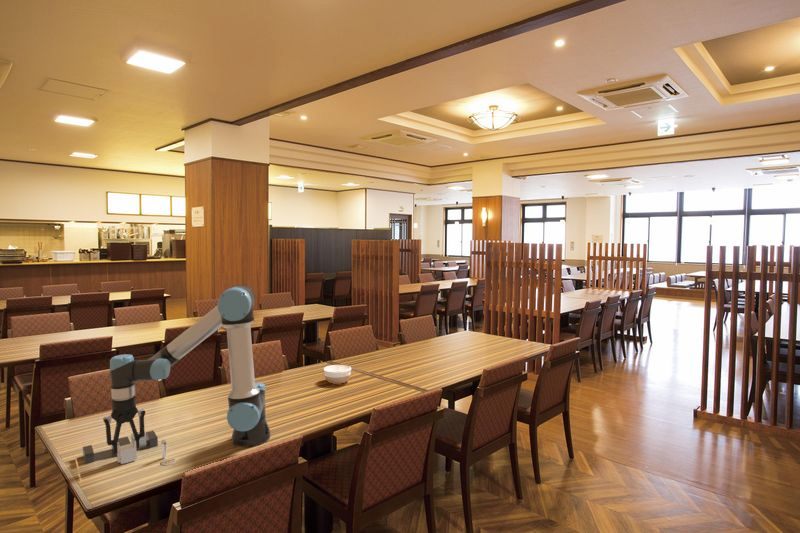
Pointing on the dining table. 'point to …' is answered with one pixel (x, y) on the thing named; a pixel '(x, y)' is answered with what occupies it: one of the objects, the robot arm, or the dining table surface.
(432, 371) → the dining table surface
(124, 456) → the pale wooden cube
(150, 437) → the rail
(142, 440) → the light grey cube
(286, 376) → the dining table surface
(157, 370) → the robot arm
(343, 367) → the bowl
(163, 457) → the stand
